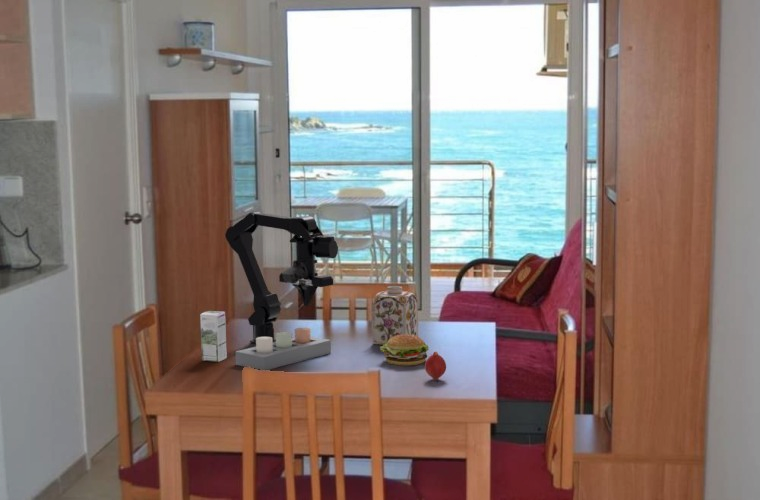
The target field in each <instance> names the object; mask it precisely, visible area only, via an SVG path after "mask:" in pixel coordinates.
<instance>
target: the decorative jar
mask: <svg viewBox="0 0 760 500" xmlns="http://www.w3.org/2000/svg"><path fill="white" fill-rule="evenodd" d="M418 301H419V299H418V298H417V296H416V295H415V294H414V293H413V292H411V291H408V290H407V291H406V290H403V287H402V286H400V285H390V286H387V290H383V291H380V292H378V293H376V294H375V296H374V299H373V301H372V303H371V306H372V307H371V310H372V311H371V312H372V314H371V315H372V317H371V318H372V320H371V322H372V323H371V324H372V325H371V326H372V329H371V330H372V332H371V333H372V344H373V345H378V344H379V345H380V346H382V345H383V343H385V344H386V343H387V342H388V340H389V339H390V338H392V337H394V336H397V335H404V334H409V335H414V336H418V337H419V308H418V307H419V303H418ZM379 345H378V346H379Z"/></svg>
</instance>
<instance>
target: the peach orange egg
mask: <svg viewBox="0 0 760 500" xmlns="http://www.w3.org/2000/svg"><path fill="white" fill-rule="evenodd" d="M311 335H312V334H311V328H310V327H297V328H294V337H295V343H300V344H305V343H309V342H311V337H312V336H311Z"/></svg>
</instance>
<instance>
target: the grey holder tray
mask: <svg viewBox="0 0 760 500" xmlns="http://www.w3.org/2000/svg"><path fill="white" fill-rule="evenodd" d="M331 347H332V344H331V339H325V338H320V337H315V336H311V342H309V343H305V344H300V343H295V336H294V337H293V336H292V347H289V348H285V349H282V348H277V347H276V342H273V352H269V353H265V354H263V353H258V352H256V346H253V347H248V348H244V349H240V350H236V351H235V366H240V367H244V368H247V367H246V366H250V367H253V368H256V369H255V370H258V369H262V370H265V371H269V370H272V369H276V368H280V367H284V366H288V365H290V364H294V363H298V362H304V361H306V360H310V359H314V358H318V357H321V356H325V355H328V354H331V353H332V348H331ZM253 368H252V369H253ZM262 370H261V371H262Z"/></svg>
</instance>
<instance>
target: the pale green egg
mask: <svg viewBox="0 0 760 500" xmlns="http://www.w3.org/2000/svg"><path fill="white" fill-rule="evenodd" d="M292 338H293V333H292V332H290V331H289V332H288V331H283V332H282V331H280V332H276V333H275V339H276V347H277V348H282V349H285V348H289V347H292Z"/></svg>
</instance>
